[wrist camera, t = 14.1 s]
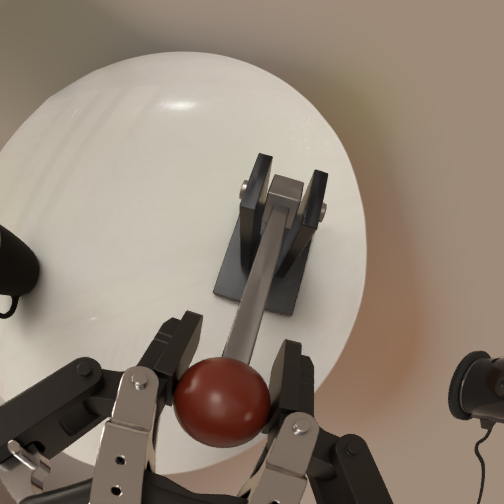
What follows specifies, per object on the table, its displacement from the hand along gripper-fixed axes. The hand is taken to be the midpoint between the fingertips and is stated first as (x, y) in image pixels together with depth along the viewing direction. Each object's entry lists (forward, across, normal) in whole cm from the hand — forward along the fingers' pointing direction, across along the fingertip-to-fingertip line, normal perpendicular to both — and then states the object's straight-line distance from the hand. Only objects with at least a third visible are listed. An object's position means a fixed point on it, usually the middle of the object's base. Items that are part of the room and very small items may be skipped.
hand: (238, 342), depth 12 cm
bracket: (+20, 0, +6) cm, 21 cm away
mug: (+11, +32, +16) cm, 38 cm away
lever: (+4, 0, 0) cm, 4 cm away
